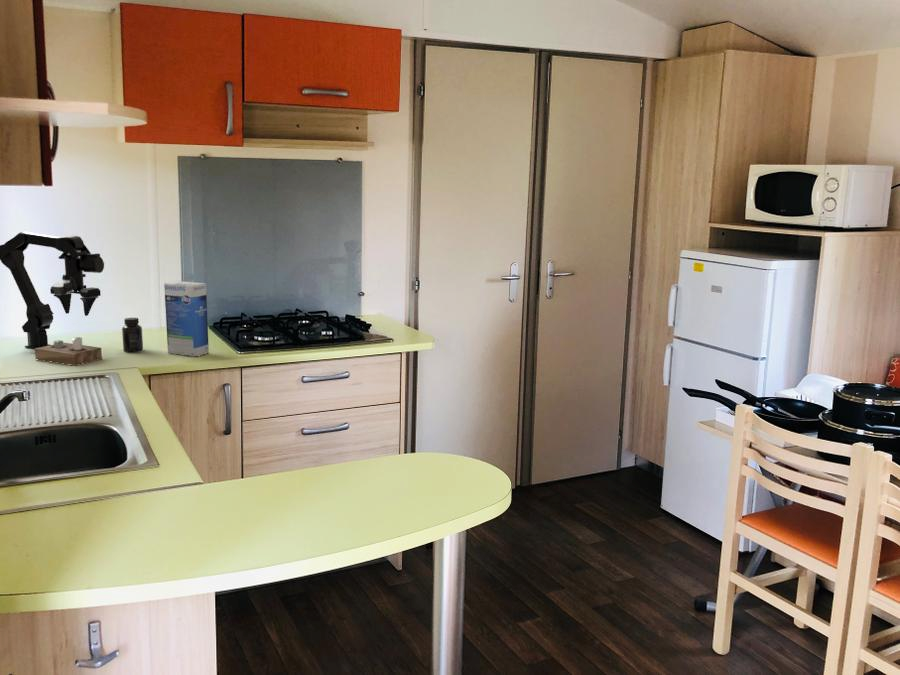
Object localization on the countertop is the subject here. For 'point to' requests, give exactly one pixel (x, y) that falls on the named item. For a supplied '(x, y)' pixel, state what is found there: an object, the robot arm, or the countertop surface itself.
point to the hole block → (68, 354)
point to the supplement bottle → (132, 335)
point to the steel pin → (77, 344)
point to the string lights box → (186, 318)
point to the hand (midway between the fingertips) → (76, 314)
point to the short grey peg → (58, 344)
